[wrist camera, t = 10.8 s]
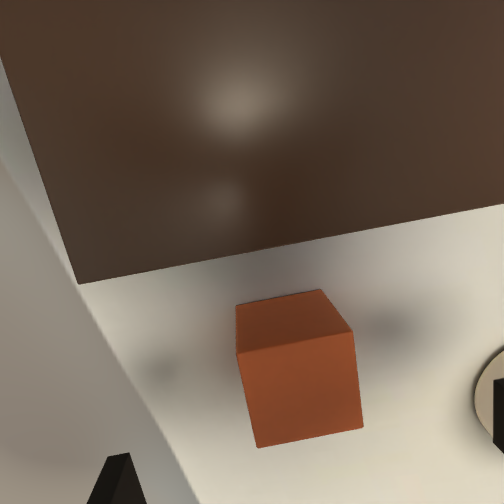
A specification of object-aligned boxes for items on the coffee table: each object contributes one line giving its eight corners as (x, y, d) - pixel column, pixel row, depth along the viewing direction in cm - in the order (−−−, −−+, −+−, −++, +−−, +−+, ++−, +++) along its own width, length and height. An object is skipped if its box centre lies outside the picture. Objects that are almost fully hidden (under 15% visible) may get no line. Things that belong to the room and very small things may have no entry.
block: (235, 305, 18) (235, 353, 13) (321, 288, 18) (353, 330, 13) (251, 379, 19) (256, 449, 14) (331, 364, 19) (364, 428, 14)
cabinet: (71, -118, 13) (-270, -729, 4) (332, -165, 13) (534, -856, 4) (160, 226, 17) (77, 285, 8) (364, 187, 17) (509, 202, 8)
